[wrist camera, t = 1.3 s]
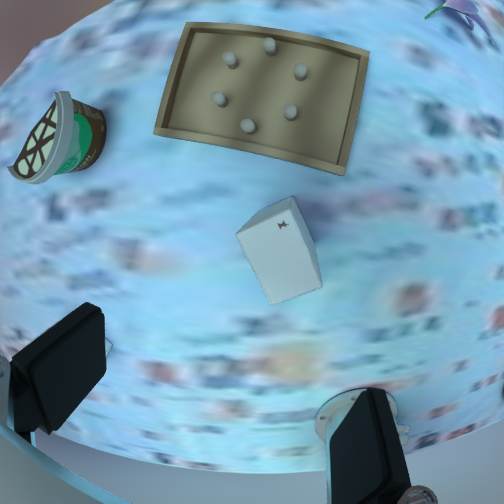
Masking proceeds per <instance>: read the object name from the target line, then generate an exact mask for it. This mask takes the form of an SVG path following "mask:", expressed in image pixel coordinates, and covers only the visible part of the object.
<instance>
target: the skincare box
mask: <svg viewBox="0 0 504 504" xmlns="http://www.w3.org/2000/svg"><path fill="white" fill-rule="evenodd" d="M236 237H237V239H238V241H239V243H240V245H241V247H242V249H243V251H244V253H245V256H246V258H247V260H248V262H249V264H250V266H251V267H252V269H253V271H254V273H255V275H256V277H257V279H258V281H259V283H260V285H261V287H262V289H263V291H264V293H265V295H266V297H267V299H268V301H269V303H270V305H271V306H273V305H275V304H278V303H281V302H284V301H286V300H289V299H292V298H295V297H297V296H300V295H303V294H305V293H308V292H311V291H313V290H316V289H318V288H321V287H322V279H321V274H320V269H319V264H318V259H317V255H316V250H315V245H314V242H313V240H312V237H311V235H310V233H309V230H308V228H307V226H306V223H305V221H304V219H303V217H302V214H301V212H300V210H299V208H298V206H297V204H296V202H295V199H294V197H293V196H290V197H288V198H286V199H284V200H281V201H279V202H277V203H275V204H272V205H270V206H268V207H266V208H264V209H262V210H260V211H258V212H257V213H256V214H255V215H254V216H253V217H252V218H251V219H250V220H249V221H248V222H247V223H246V224H245V225H244V226H243V227H242V228H241V229H240V230H239V231H238V232H237V233H236Z"/></svg>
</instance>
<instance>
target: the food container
mask: <svg viewBox="0 0 504 504" xmlns="http://www.w3.org/2000/svg"><path fill="white" fill-rule="evenodd" d="M53 94H54V96H55V100H54V102H53V103H52V105H51V106H50V108H49V109H48V111H47V112H46V113H45V115H44V116H43V117H42V118H41V120H40V121H39V122H38V123H37V124H36V126H35V127H34V128H33V130H32V131H31V132H30V134H29V136H28V138H27V140H26V143H25V145H24V147H23V149H22V151H21V153H20V155H19V156H18V158H17V160H16V162H15V164H14V165H13V166H8V167H7V168H8V171H9V172H10V174H11V175H12V176H13V177H14V178H15V179H17V180H19V181H21V182H24V183H30V184H40V183H43V182H45V181H47V180H48V179H49V178H51V177H52V176H53V175H58V174H63V173H69V172H74V171H79V170H83V169H87V168H88V167H90V166H91V165H92V164H93V163H94V162H95V161H96V160H97V159H98V157H99V156H100V154H101V152H102V149H103V147H104V144H105V139H106V122H105V118H104V115H103V113H102V111H101V110H98V109H96V108H94V107H91V106H89V105H86V104H84V103H82V102H79V101H77V100H74V99H72V98H71V95H70V93H69V91H59V92H58V93H56V92H53Z"/></svg>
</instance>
